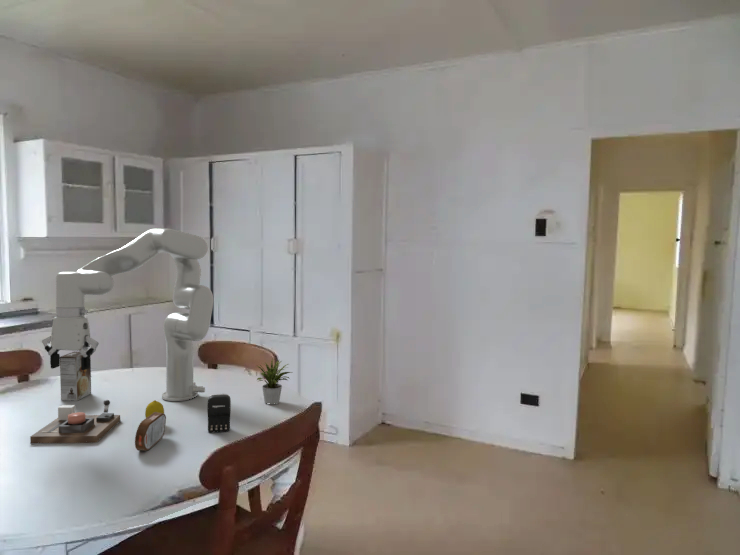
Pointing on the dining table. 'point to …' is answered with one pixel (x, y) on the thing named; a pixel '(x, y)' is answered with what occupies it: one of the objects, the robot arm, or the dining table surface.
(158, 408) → the lemon
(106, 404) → the toggle lever
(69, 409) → the block
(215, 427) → the battery charger
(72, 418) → the push button
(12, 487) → the dining table surface
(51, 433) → the control board
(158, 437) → the tin
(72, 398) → the coffee box
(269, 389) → the house plant
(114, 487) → the dining table surface
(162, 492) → the dining table surface
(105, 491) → the dining table surface
